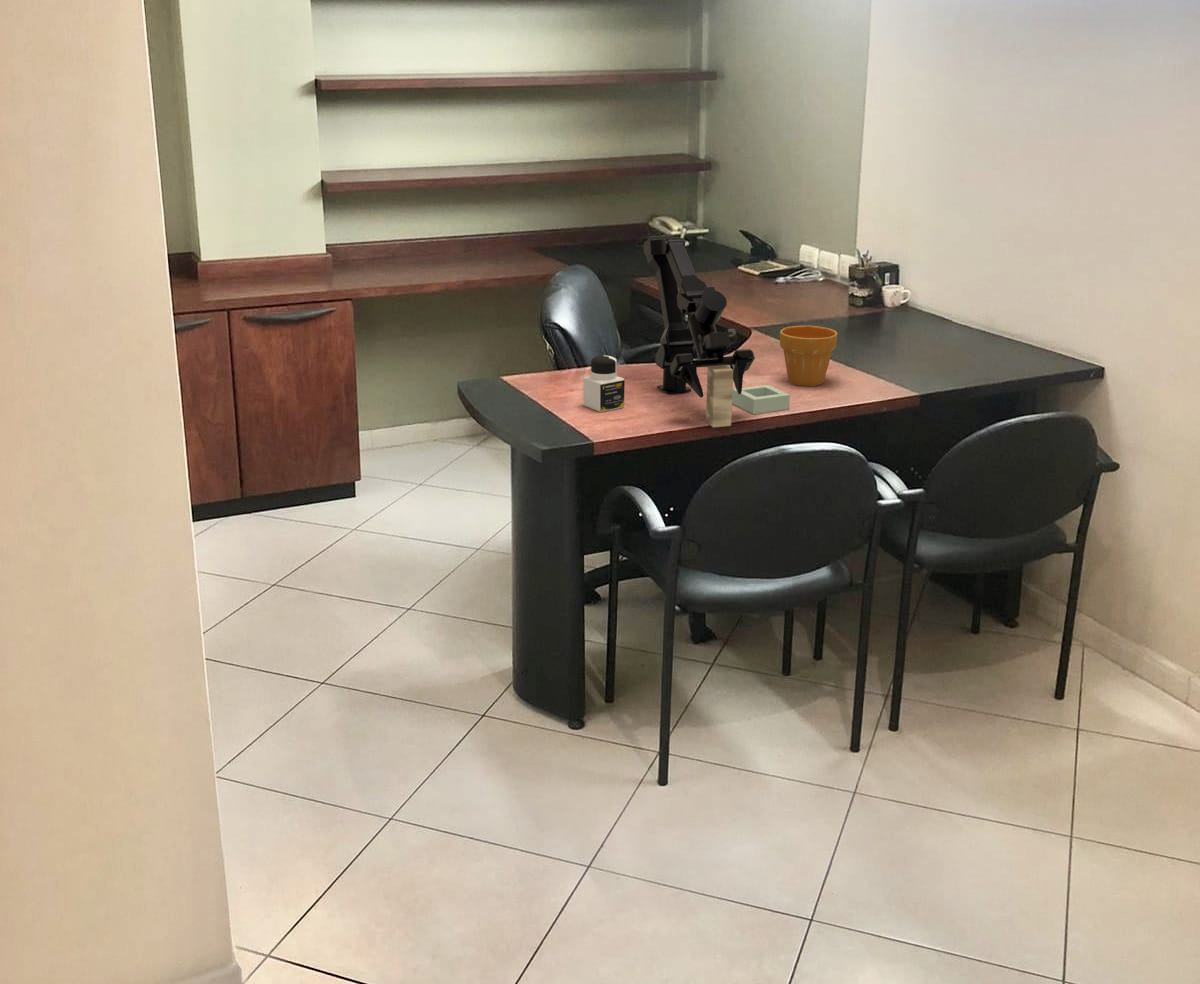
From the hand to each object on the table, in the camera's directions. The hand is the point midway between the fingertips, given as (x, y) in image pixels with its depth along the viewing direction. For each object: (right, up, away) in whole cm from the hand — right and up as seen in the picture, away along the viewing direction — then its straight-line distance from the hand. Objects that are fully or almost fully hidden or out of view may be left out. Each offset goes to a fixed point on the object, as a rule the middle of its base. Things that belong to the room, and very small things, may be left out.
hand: (721, 395), depth 275 cm
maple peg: (0, -6, +3) cm, 7 cm away
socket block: (+11, -1, +16) cm, 20 cm away
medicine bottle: (-26, -2, +16) cm, 31 cm away
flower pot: (+25, +6, +37) cm, 45 cm away
